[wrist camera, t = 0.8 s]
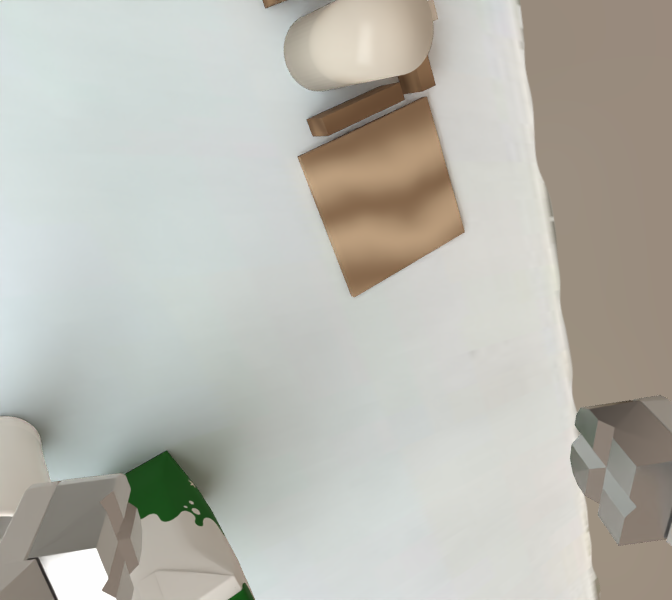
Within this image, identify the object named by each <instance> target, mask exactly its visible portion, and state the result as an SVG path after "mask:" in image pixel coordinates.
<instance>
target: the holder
mask: <svg viewBox="0 0 672 600" xmlns="http://www.w3.org/2000/svg"><path fill="white" fill-rule="evenodd" d="M284 1H287V0H263V3H264V6H265V8H268V7H270V6H273V5H276V4H278V3H281V2H284ZM398 78H399V83H393V84H388V85H383V86H379V87H377V88H375V89H373V90H371V91H368V92H366V93H364V94H362V95H360V96H357V97H355V98H353V99H351V100H349V101H346V102H344V103H342V104H340V105H338V106H335V107H333V108H331V109H329V110H327V111H324V112H322V113H320V114H318V115H316V116H313V117H311V118H309V119H307V122H308V125H309V127H310V130H311V133H312V136H329V135H331V134H333V133H335V132H337V131H340V130H342V129H344V128H346V127H348V126H350V125H352V124H354V123H357V122H359V121H361V120H363V119H365V118H367V117H369V116H371V115H373V114H376V113H378V112H380V111H382V110H384V109H386V108H388V107H390V106H393V105H395V104H397V103H399V102H401V101H403V100H405V99H404V95H403V94H408V93H415V92H421V91H424V90H426V89H429V88H431V87H433V86H435V85H436V84H435V81H434V77H433V73H432V70H431V66H430V62H429V59H428V55H427V57H426V58H425V60H424V61H423V63H422V64H421V65H420V66H419V67H418V68H416V69H415V70H414V71H412V72H410V73H408V74H404V75H400V76H398Z"/></svg>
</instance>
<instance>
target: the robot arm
mask: <svg viewBox="0 0 672 600" xmlns="http://www.w3.org/2000/svg"><path fill="white" fill-rule="evenodd" d="M575 426H576V428H577V429H578V430H579V432H580V433H581V434H580V435H579V437H578V438H577V439H576V440H575V441H574V442H573V443H572V446H571V456H570V460H571V466H572V471H573V475H574V477H575V479H576V482H577V484H578V486H579V487H580V489H581V490H582V492H583V494H584V495H585V496H587V497H588V498H590V499H592V500H594V501H595V502H597V503H599V504H600V505H599V511H598V516H599V517H600V519H601V521H602V522H603V523H604V525H605V526H606V528H607V529H608V531H609V532H610V534H611V535H612V537H613V538H614V540H615V541H616V543H617V544H618V545H627V544H635V543H643V542H651V541H658V540H665V539H667V541H666V542H667V543H669V544H670V545H671V546H672V401H671V400H669V399H668V398H666V397H664V396H661V395H659V396H651V397H646V398H639V399H634V400H632V401H631V400H629V401H622V402H616V403H609V404H602V405H596V406H589V407H583V408H580V410H579V411H578V413H577V415H576V420H575ZM130 491H131V488H130V485H129V483H128V480H127V477H126V475H124V474H122V473H117V474H108V475H100V476H91V477H83V478H74V479H66V480H62V481H54V482H46V483H37V484H32V485H31V486H30V487H29V488H27V489H26V491H25V492H24V494H23V496H22V498H21V500H20V503H19V505H18V507H17V509H16V511H15V513H14V515H13V517H12V519H11V521H10V524H9V526H8V528H7V530H6V532H5V534H4V536H3V538H2V540H1V543H0V600H132V596H133V591H134V586H133V583H132V580H131V577H130V574H131V573H132V571H133V570H134V569H135V568H136V567H137V566H138V565H139V562H140V556H141V551H142V527H141V520H140V516H139V513H138V509H137V508H136V507H135V506H133V505H132V504H130V503H129V502H128V499H129V495H130Z"/></svg>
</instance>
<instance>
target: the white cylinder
mask: <svg viewBox="0 0 672 600" xmlns="http://www.w3.org/2000/svg"><path fill="white" fill-rule="evenodd" d="M437 19H438V16H437V12H436V8H435V5H434V1H433V0H429V1H427V0H336V1H334V2H332V3H330V4H328V5H326V6H324V7H322V8H320V9H318V10H315V11H313V12H311V13H309V14H307V15H305V16H303V17H301V18H299V19H298V20H296V21H295V22H294V23H293V24H292V26H291V27H290V29H289V30H288V32H287V35H286V38H285V42H284V58H285V62H286V66H287V68H288V70H289V72H290V74H291V76H292V77H293V78H294V79H295V81H296V82H297V83H299V84H300V85H301V86H303V87H304V88H306V89H308V90H311V91H317V92H318V91H326V90H331V89H336V88H341V87H346V86H351V85H356V84H360V83H365V82H370V81H375V80H380V79H385V78H390V77H395V76H400V75H404V74H408V73H410V72H412V71H414V70H415V69H416V68H418V67H419V66H420V65H421V64H422V63H423V61H424V60H425V58H426V57H427V55H428V53H429V50H430V48H431V44H432V39H433V21H435V20H437Z"/></svg>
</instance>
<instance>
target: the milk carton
mask: <svg viewBox="0 0 672 600" xmlns="http://www.w3.org/2000/svg"><path fill="white" fill-rule="evenodd" d="M125 475H126V477H127V480H128V483H129V485H130V488H131V491H130V495H129V499H128V502H129V503H130V504H132V505H133V506H135V507H136V508H137V509H138V513H139V516H140V520H141V527H142V551H141V556H140V562H139V565H138V566H137V567H136V568H135V569H134V570H133V571H132V573H131V574H130V577H131V580H132V583H133V586H134V591H133V596H132V600H255V598H254V596H253V594H252V591H251V589H250V586H249V584H248V582H247V580H246V578H245V576H244V573H243V571H242V568H241V566H240V564H239V561H238V559H237V557H236V556H235V554H234V552H233V550H232V548H231V546H230V544H229V542H228V541H227V539H226V537H225V535H224V533H223V531H222V529H221V527H220V525H219V524H218V522H217V520H216V518H215V516H214V514H213V512H212V511H211V509H210V507H209V506H208V504H207V503H206V501H205V500H204V498H203V496H202V495H201V493H200V492H199V490H198V489H197V487H196V486H195V485H194V484H193V482H192V481H191V480H190V479H189V477H188V476H187V475H186V474H185V472H184V471H183V470H182V469H181V468H180V466H179V465H178V464H177V463H176V461H175V460H174V459H173V458H172V456H171V455H170V454H169V453H168V451H165V452H163V453H162V454H160V455H158V456H156V457H155V458H153V459H151V460H149V461H147V462H146V463H144V464H142V465H140V466H139V467H137V468H135V469H133V470H132V471H130V472H128V473H126V474H125Z"/></svg>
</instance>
